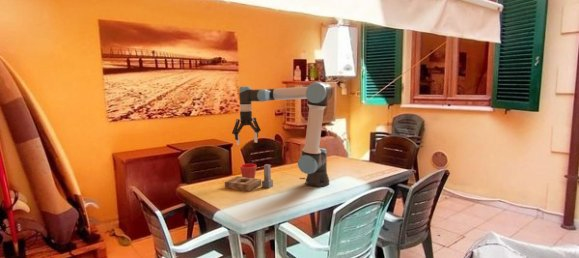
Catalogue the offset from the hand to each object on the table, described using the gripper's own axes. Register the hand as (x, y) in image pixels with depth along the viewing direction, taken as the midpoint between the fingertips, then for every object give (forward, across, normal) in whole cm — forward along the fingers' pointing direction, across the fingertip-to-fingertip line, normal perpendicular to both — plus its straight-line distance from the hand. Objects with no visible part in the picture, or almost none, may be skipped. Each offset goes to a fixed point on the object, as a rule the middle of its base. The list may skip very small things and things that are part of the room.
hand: (247, 143), depth 223 cm
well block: (+26, +8, +7) cm, 28 cm away
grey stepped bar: (+26, -3, +17) cm, 31 cm away
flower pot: (+26, -4, -6) cm, 27 cm away
